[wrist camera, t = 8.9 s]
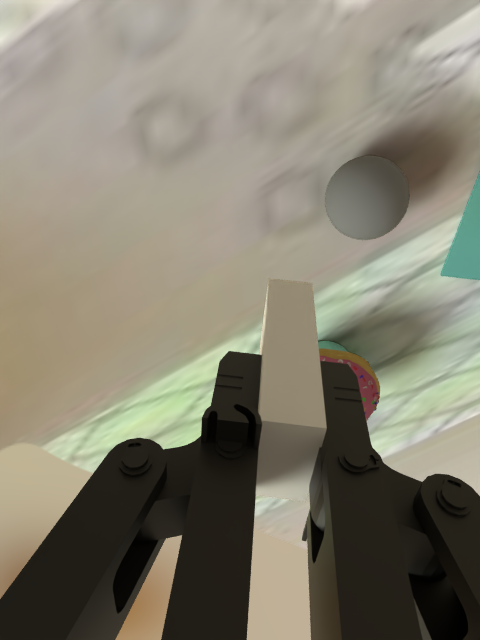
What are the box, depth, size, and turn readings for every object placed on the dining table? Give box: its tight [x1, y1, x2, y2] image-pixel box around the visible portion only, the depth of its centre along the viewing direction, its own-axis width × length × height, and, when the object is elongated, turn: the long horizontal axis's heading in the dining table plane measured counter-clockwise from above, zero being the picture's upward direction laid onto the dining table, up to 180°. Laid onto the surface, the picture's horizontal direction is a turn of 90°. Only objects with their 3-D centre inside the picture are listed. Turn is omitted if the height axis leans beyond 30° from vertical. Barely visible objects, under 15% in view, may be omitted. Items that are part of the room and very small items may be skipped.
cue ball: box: [325, 155, 410, 240], centre depth 30 cm, size 6×6×6 cm
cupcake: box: [318, 341, 380, 421], centre depth 36 cm, size 9×8×12 cm
